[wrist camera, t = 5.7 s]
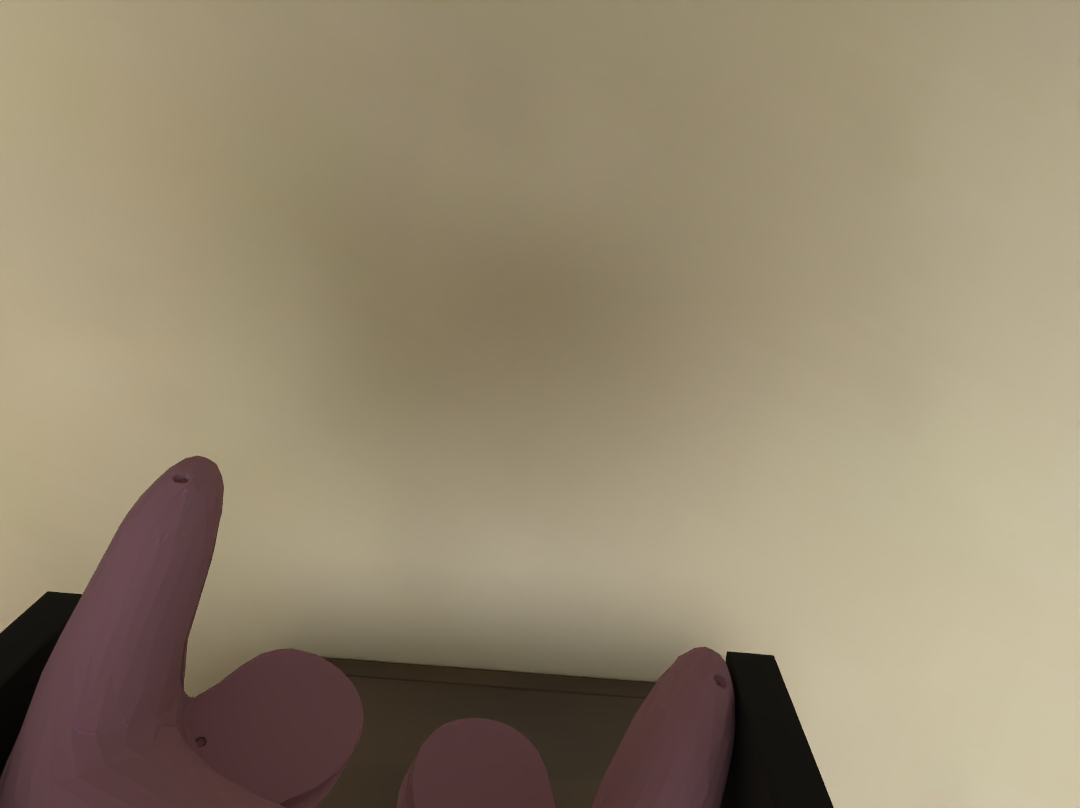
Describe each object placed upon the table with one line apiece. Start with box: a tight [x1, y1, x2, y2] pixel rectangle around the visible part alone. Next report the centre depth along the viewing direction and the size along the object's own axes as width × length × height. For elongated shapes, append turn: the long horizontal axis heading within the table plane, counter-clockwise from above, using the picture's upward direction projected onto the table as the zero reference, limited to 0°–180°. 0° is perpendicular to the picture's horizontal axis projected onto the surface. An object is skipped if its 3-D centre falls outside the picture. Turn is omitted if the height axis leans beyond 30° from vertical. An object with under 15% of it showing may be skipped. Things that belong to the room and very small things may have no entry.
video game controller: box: [0, 456, 736, 808], centre depth 14 cm, size 10×5×7 cm, turn 68°
